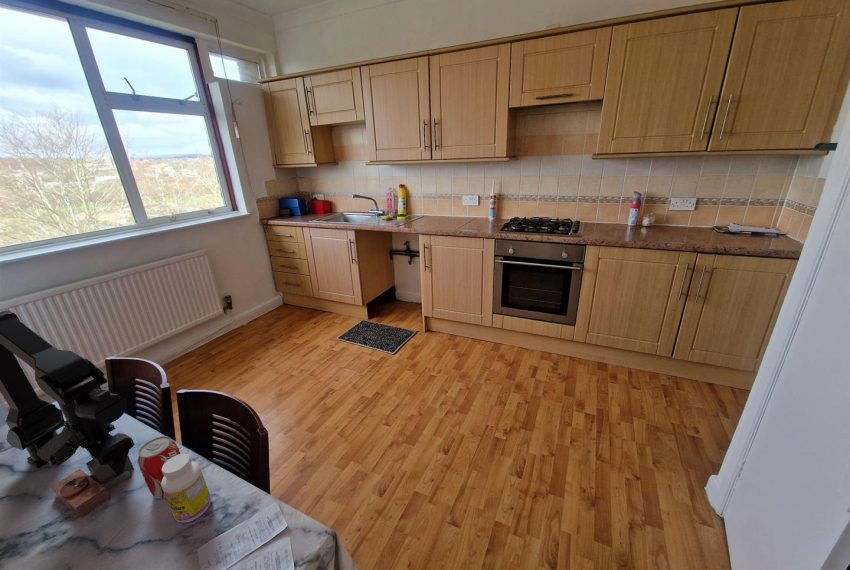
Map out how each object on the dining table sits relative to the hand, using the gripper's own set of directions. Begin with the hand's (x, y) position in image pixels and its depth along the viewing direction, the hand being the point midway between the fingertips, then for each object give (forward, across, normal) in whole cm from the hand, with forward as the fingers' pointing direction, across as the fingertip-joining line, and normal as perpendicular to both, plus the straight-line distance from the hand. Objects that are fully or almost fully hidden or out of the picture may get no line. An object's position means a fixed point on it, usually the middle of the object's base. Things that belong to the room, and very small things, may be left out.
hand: (110, 466), depth 81 cm
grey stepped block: (+3, 0, 0) cm, 3 cm away
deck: (+3, 0, -3) cm, 5 cm away
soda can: (+3, +16, +4) cm, 17 cm away
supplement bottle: (+3, +26, +3) cm, 26 cm away
